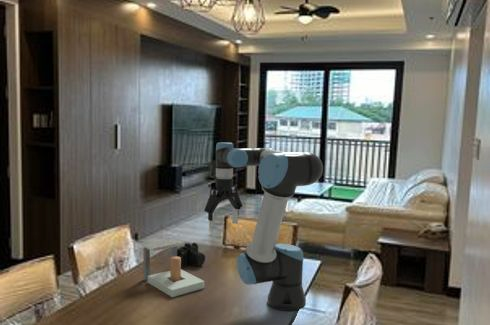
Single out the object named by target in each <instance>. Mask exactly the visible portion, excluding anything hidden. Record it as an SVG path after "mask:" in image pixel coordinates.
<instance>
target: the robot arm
mask: <svg viewBox="0 0 490 325" xmlns="http://www.w3.org/2000/svg"><path fill="white" fill-rule="evenodd" d="M253 166H254V167H258V170H257V174H258V176H257V178H258V181H259V183H260V185H261V189H262V190H263V198H262V202H261V205H260V209H259V211H258V217H257V221H256V225H255V227H254V228H255V229H254V233H253V237H252V240H251V242H249V243H248V244H247V246H246V248H245V252H244V253H242V252H241V253H240V254H238V255H237V258H236V267H237V268H236V269H237V272H238V275H239V278H240V279H241V281H242V282H243V283H244V284H245V285H247V286H248V285H249V286H251V285H259V284H263V283H268V282H270V283H271V282H272V284H271V286H270V289H269V293H268V295H267V304H268V305H269V306H270V307H271V308H273V309H276V310H279V311H287V312H293V311H299V310H302V309H304V308H305V307H306V304H307V297H306V295H305V292H304V287H303V271H304V269H303V267H304V252H303V249H302V248H300V247H298V246H296V245H293V244H288V243H277V240H278V237H279V232H280V230H281V227H282V223H283V219H284V217H285V216H284V215H285V212H286V209H287V205H288V202H289V199H290V198H292V197H293V196H294V195H295V194H296V189H297V187H306V186H310V185H311V186H312V185H314V184H315V183H316V182H318V180H319V181H320V179H321V177H322V175H323V172H324V171H323V170H324V165H323V162H322V160H321V159H320V157H319V156H318V155H316V154H315V153H312V152H305V151H302V152H286V151H280V150H274V148H270V147H262V148H261V147H254V148H253V147H252V148H251V147H250V148H245V147H244V148H243V147H242V148H240V147H239V148H237V147H236V148H235V147H234V144H233V143H232V142H217V143H216V146H215V177H216V178H215V187H216V189H210V193H209V196H208V198H207V202H206V205H205V207H204V210H203V211H204V212H205V213H207V215H208V216H207V220H208V222H209V224H208V225H209V226H208V227H209V228H210V229H215V228H216V226H215V224H216V222H215V221H216V220H215V218H216V217H215V216H216V214H215V210H216V209H217V207H218V205H219V204H220V202H221V201H222V200H225V199H226V200H228V201H229V202H230V204H231V206H232V207H233V208H232V219H231V220H232V221H231V222H232V224H235V225H237V224H238V223H239V222H238V221H239V220H238V219H239V214H240V211H239V210H241V208H242V207H243V204H242V200H241V198H240V195H239V192H238V191H239V190H238V187H235V186H234V179H233V178H234V168H242V167H253Z"/></svg>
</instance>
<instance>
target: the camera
mask: <svg viewBox="0 0 490 325" xmlns="http://www.w3.org/2000/svg"><path fill="white" fill-rule="evenodd" d="M177 257H181V268H184V267H186V266H198V267H201V266H202V265H204V263H205V261H206V255H205V254H204V253H202V252H199V245H198V243H196V242H192V243H190V242H186V243H184V245H181V247H178V248H177Z"/></svg>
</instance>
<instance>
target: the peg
mask: <svg viewBox="0 0 490 325" xmlns="http://www.w3.org/2000/svg"><path fill="white" fill-rule="evenodd" d="M169 268H170V269H169V271H170V280H171V281H172V282H176V281H180V280H181V269H182V267H181V257H177V256H175V257H171V256H170V266H169Z"/></svg>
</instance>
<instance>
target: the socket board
mask: <svg viewBox="0 0 490 325" xmlns="http://www.w3.org/2000/svg"><path fill="white" fill-rule="evenodd" d="M147 283H148V284H149V285H151V286H153V287H154V288H156V289H157V290H160V291H161V292H163V293H164V294H166V295H168V296H169V297H171V298H175V297H178V296H181V295H185V294H189V293H193V292H196V291H199V290H203V289H205V283H206V282H205V281H204V279H201V278H199V277H197V276H195V275H193V274H191V273H190V272H187V271H185V270H183V269H182V268H181V280H180V281H176V282H172V281H171V280H170V270H166V271H163V272H162V271H161V272H158V273H154V274H151V275H149V276H148V281H147Z"/></svg>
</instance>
